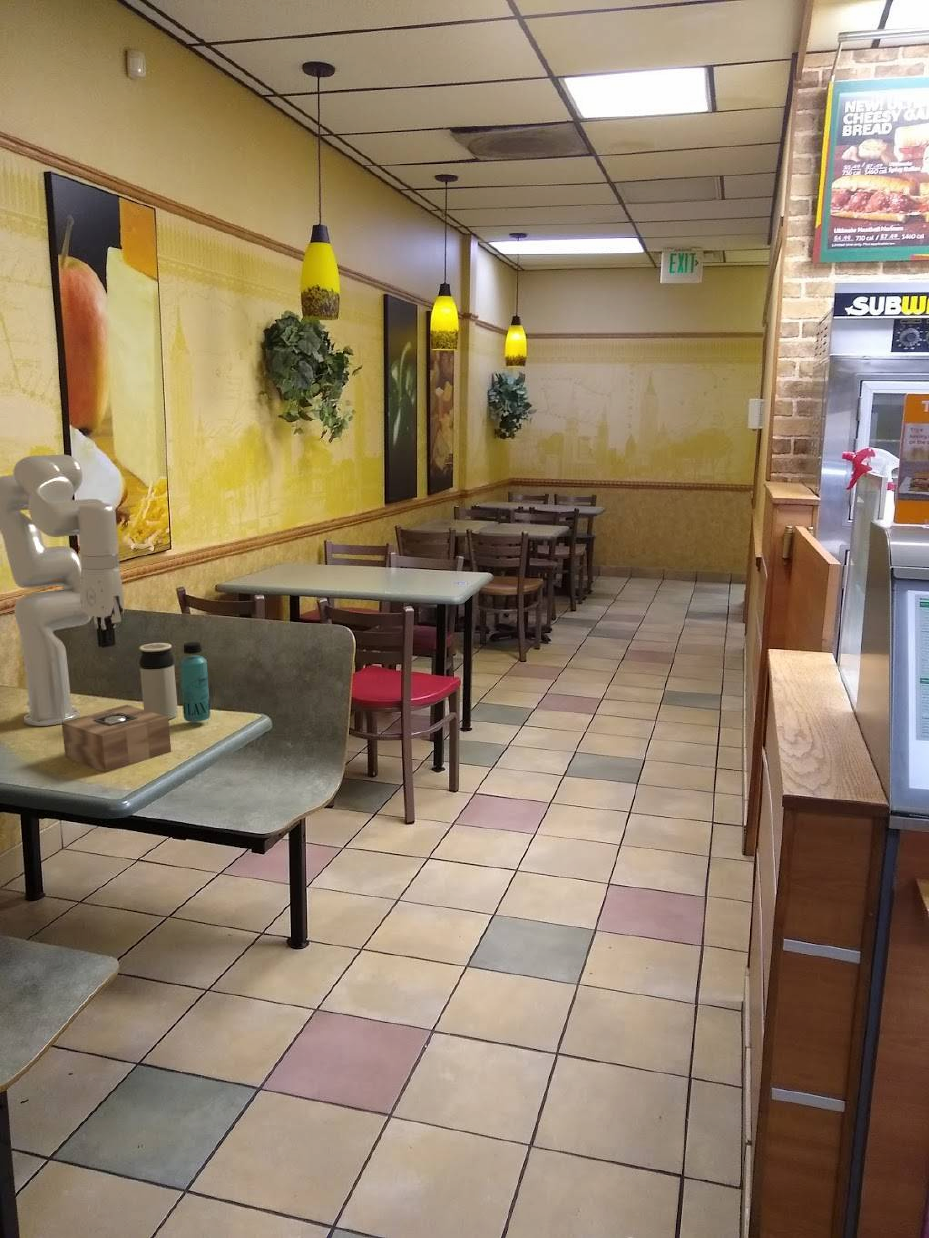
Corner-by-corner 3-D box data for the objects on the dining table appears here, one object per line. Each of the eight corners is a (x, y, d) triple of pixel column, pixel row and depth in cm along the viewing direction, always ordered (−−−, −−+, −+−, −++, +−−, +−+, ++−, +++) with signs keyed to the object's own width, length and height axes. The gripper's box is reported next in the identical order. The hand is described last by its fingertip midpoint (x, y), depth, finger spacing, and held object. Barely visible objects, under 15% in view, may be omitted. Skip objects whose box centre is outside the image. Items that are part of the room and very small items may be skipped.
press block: (65, 757, 215) (61, 721, 214) (129, 737, 228) (126, 703, 226) (106, 772, 206) (102, 735, 204) (171, 751, 218) (168, 716, 216)
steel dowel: (103, 753, 216) (100, 719, 215) (121, 747, 220) (118, 714, 218) (115, 757, 214) (111, 722, 212) (132, 751, 217) (129, 717, 215)
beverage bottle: (179, 727, 235) (172, 646, 230) (190, 719, 241) (184, 639, 237) (205, 728, 234) (199, 646, 230) (215, 719, 240) (210, 640, 236)
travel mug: (168, 722, 239) (162, 650, 235) (138, 721, 240) (131, 649, 237) (183, 712, 246) (178, 643, 243) (154, 711, 248) (148, 642, 244)
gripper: (64, 560, 210) (72, 643, 214) (104, 568, 201) (110, 655, 205) (96, 556, 215) (103, 637, 220) (136, 564, 206) (142, 648, 211)
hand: (106, 645), depth 212 cm, fingers closed
